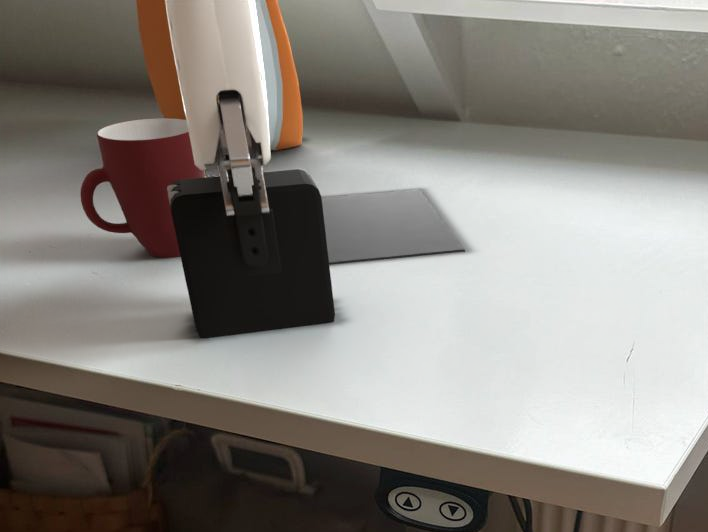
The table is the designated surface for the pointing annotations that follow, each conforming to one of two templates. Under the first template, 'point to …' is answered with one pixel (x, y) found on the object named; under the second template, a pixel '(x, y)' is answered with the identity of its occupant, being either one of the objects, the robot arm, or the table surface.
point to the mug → (143, 179)
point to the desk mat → (384, 227)
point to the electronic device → (261, 290)
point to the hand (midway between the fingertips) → (253, 253)
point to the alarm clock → (167, 91)
